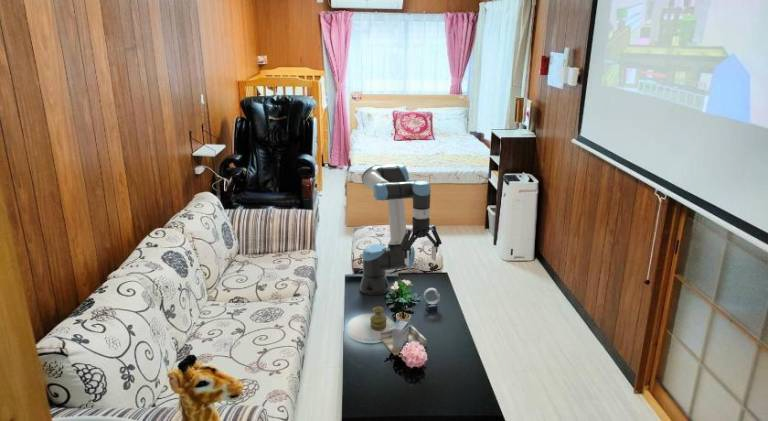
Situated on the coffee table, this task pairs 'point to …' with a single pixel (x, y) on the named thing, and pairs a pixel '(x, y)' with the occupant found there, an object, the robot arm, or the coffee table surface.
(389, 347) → the corner arena
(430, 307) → the watch
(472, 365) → the coffee table surface
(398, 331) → the medicine box
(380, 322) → the gold round knobbed cylinder
